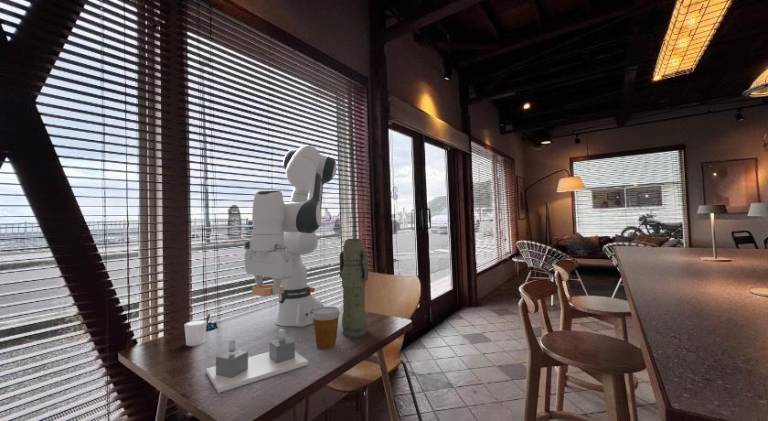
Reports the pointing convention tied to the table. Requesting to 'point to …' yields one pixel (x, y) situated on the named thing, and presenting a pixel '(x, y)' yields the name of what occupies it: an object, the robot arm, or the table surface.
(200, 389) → the table surface
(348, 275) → the thermos
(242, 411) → the table surface
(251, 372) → the jig plate
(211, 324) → the bird
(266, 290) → the ring
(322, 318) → the disposable coffee cup
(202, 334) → the white cup
